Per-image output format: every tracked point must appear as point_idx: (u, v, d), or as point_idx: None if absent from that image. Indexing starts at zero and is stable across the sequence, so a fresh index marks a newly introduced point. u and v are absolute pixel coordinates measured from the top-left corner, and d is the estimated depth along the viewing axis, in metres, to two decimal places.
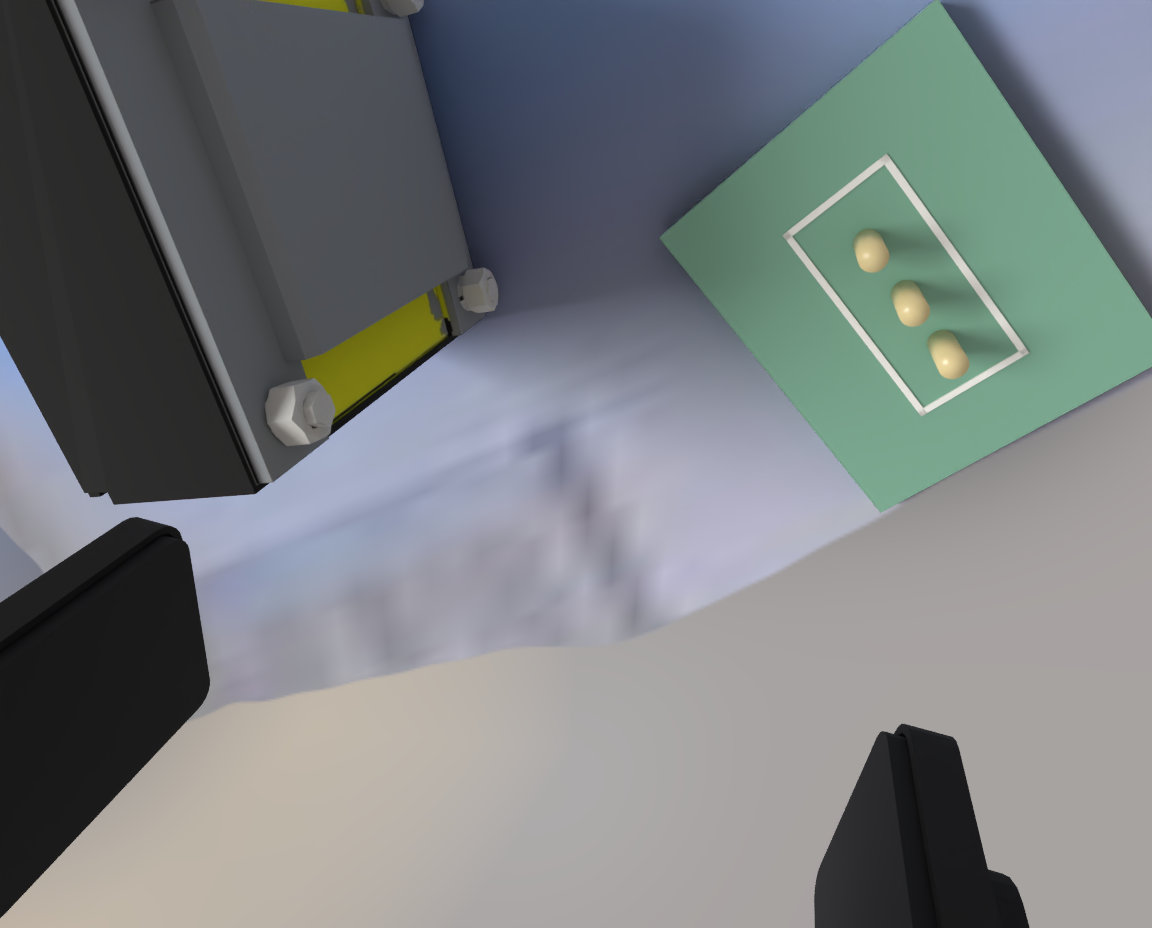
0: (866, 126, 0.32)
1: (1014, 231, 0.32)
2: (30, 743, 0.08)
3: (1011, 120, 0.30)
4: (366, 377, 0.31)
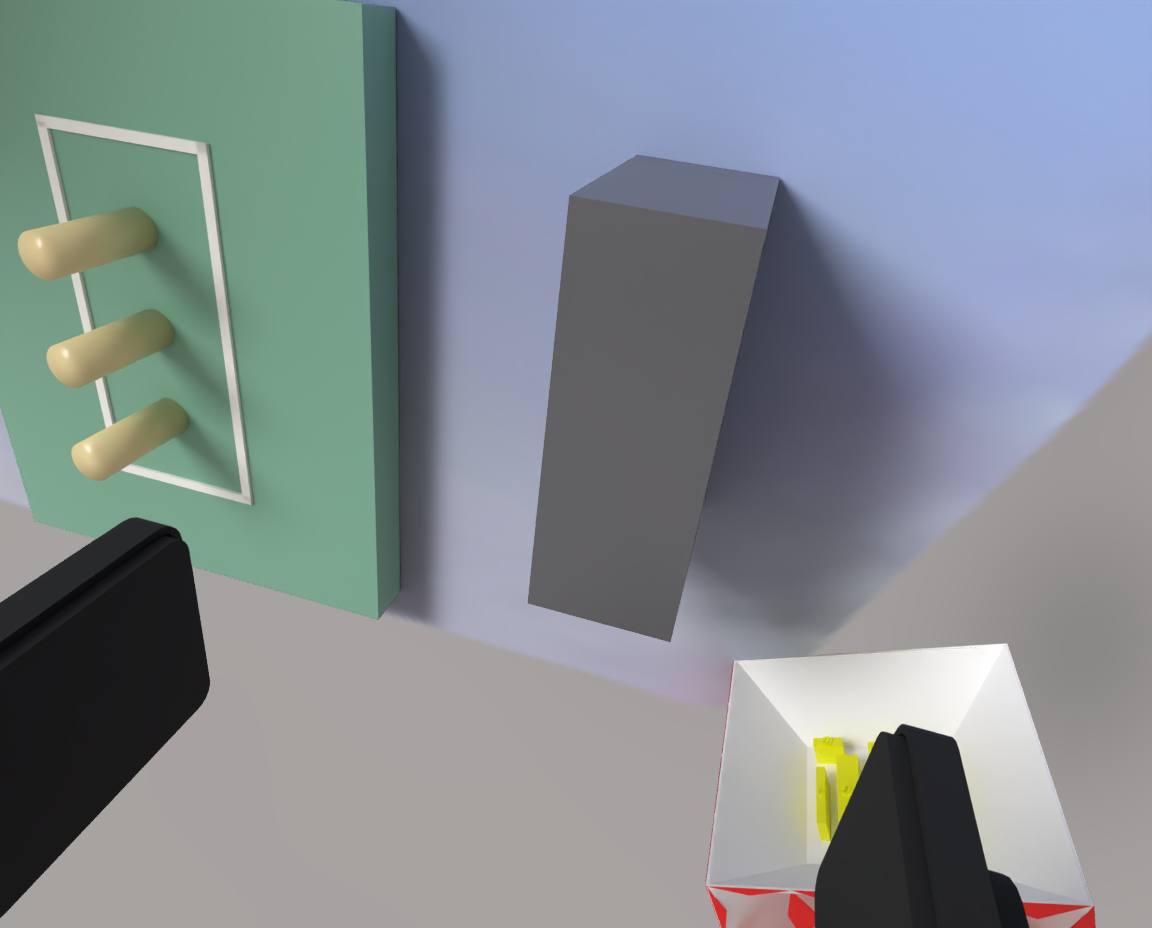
0: (200, 81, 0.19)
1: (301, 375, 0.22)
2: (30, 743, 0.08)
3: (361, 253, 0.20)
4: None
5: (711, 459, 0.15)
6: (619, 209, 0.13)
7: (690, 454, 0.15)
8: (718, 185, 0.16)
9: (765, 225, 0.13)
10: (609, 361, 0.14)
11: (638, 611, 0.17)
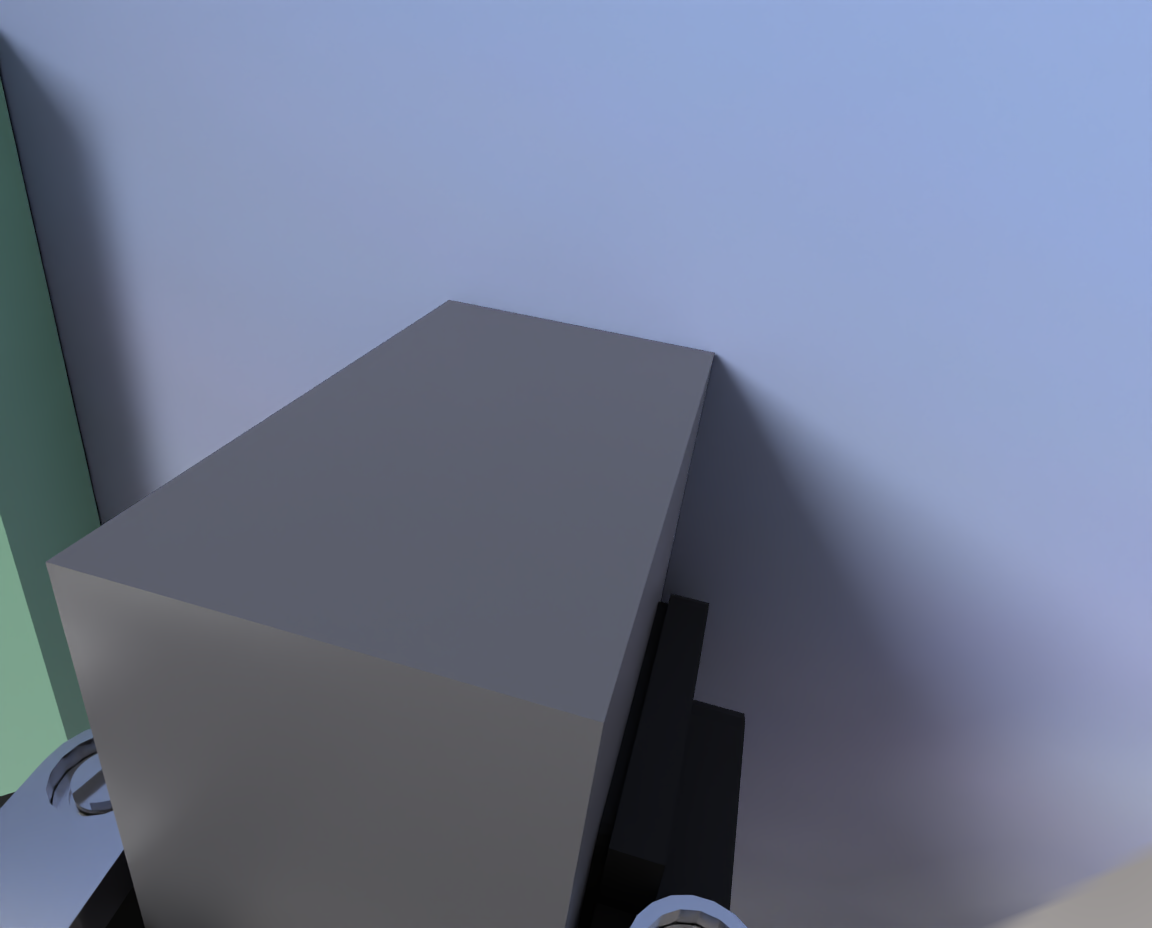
0: None
1: None
2: None
3: None
4: None
5: None
6: (187, 606, 0.04)
7: None
8: (565, 411, 0.07)
9: (608, 682, 0.04)
10: (254, 907, 0.06)
11: None
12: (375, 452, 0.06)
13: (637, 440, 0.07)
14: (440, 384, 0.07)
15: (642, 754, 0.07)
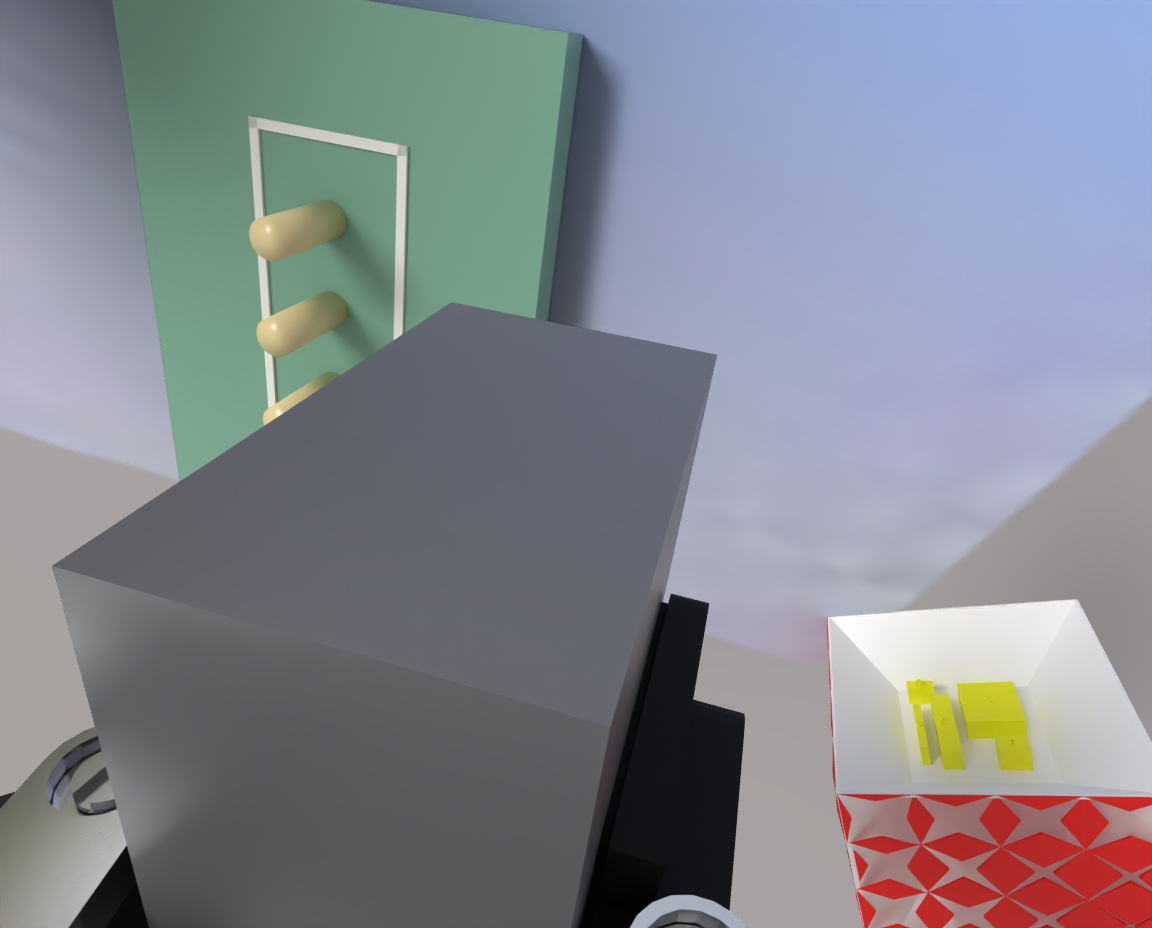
0: (409, 92, 0.21)
1: None
2: None
3: (536, 244, 0.23)
4: None
5: None
6: (194, 610, 0.04)
7: None
8: (568, 414, 0.07)
9: (615, 685, 0.04)
10: (260, 909, 0.06)
11: None
12: (380, 455, 0.06)
13: (641, 443, 0.07)
14: (444, 386, 0.07)
15: (642, 754, 0.07)
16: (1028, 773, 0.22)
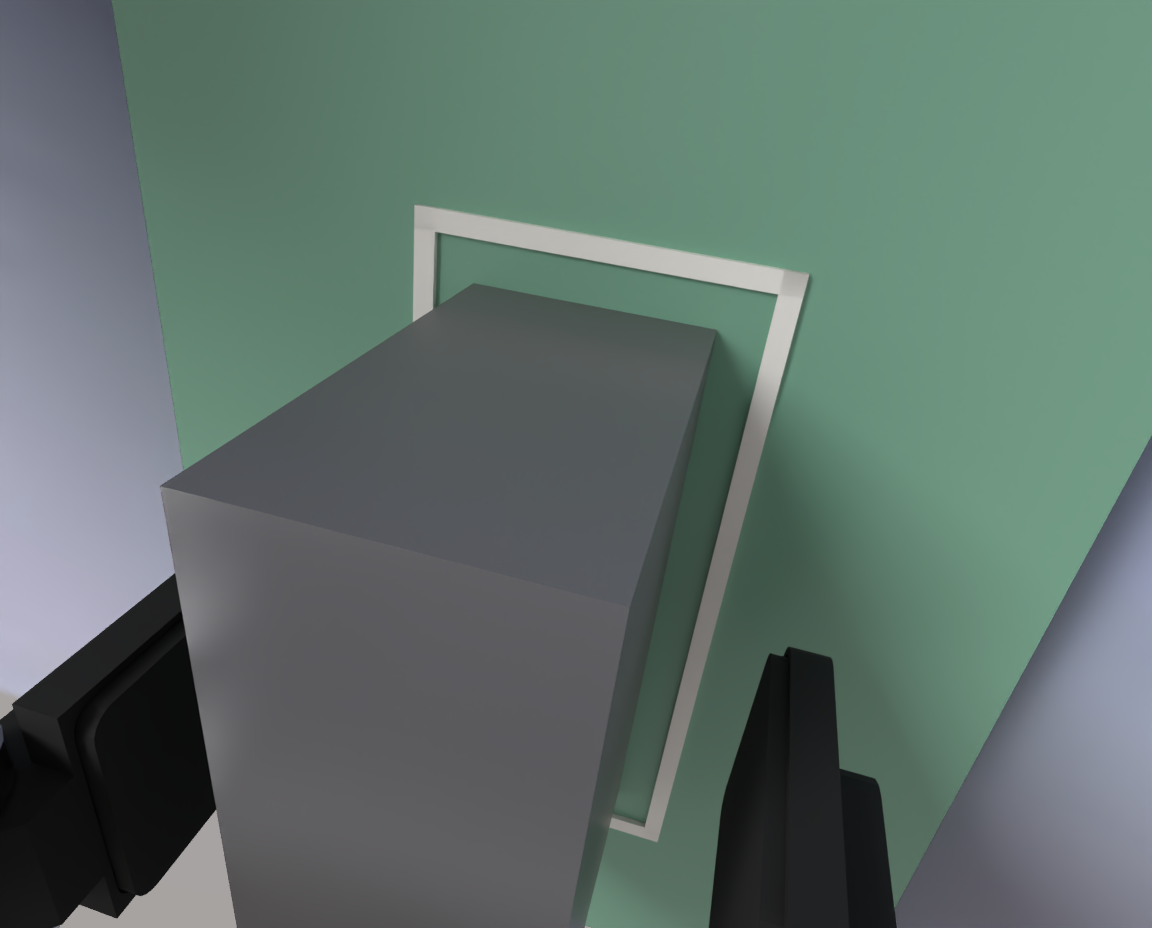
0: (839, 150, 0.09)
1: (849, 676, 0.12)
2: (185, 721, 0.09)
3: (1100, 492, 0.10)
4: None
5: None
6: (279, 522, 0.05)
7: None
8: (584, 376, 0.08)
9: (632, 579, 0.05)
10: (321, 798, 0.07)
11: None
12: (422, 407, 0.07)
13: (649, 400, 0.08)
14: (472, 353, 0.08)
15: (799, 840, 0.07)
16: None
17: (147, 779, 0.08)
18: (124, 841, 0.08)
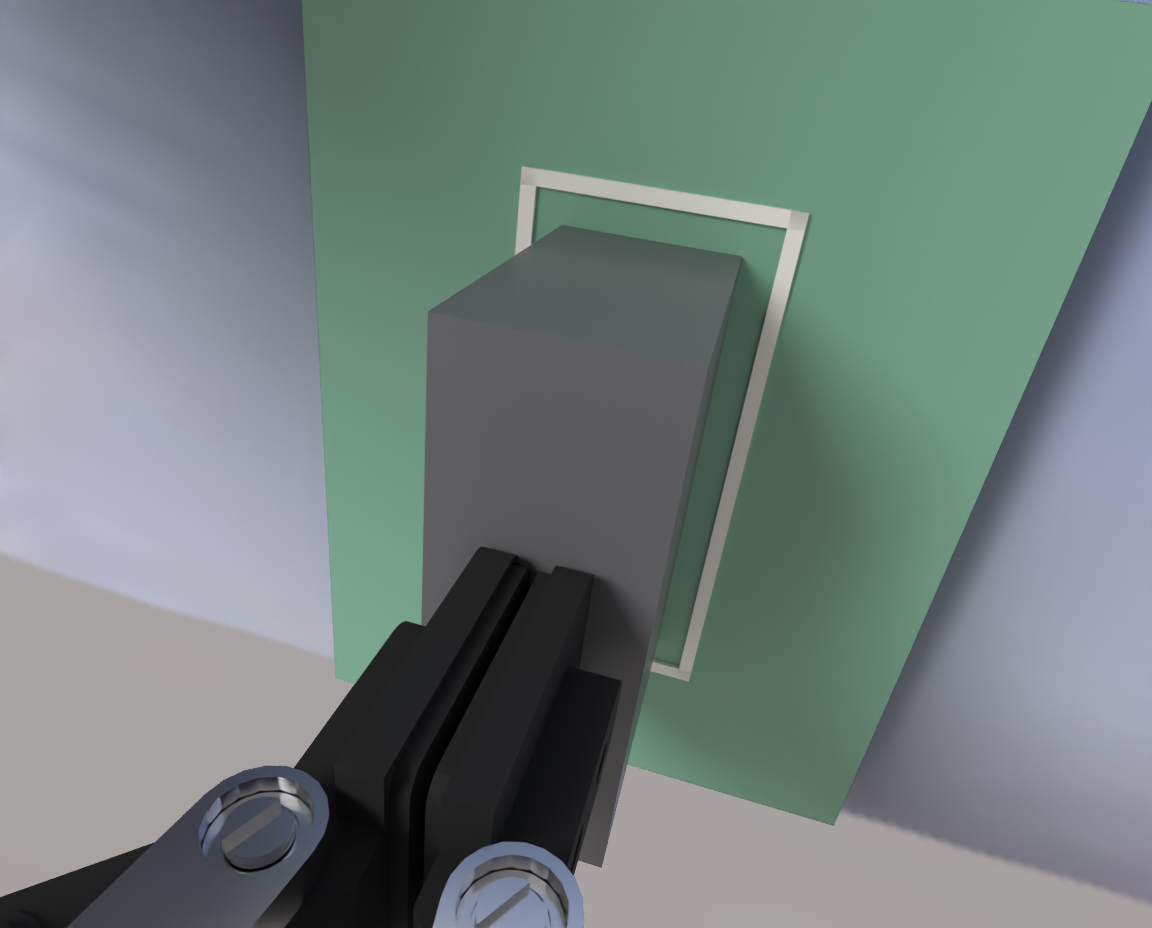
0: (830, 123, 0.12)
1: (839, 528, 0.16)
2: None
3: (1018, 371, 0.13)
4: None
5: (643, 659, 0.11)
6: (498, 332, 0.09)
7: (615, 651, 0.11)
8: (656, 276, 0.12)
9: (707, 358, 0.09)
10: (499, 529, 0.10)
11: None
12: (558, 286, 0.11)
13: (701, 289, 0.11)
14: (578, 262, 0.12)
15: (493, 712, 0.08)
16: None
17: None
18: (408, 894, 0.08)
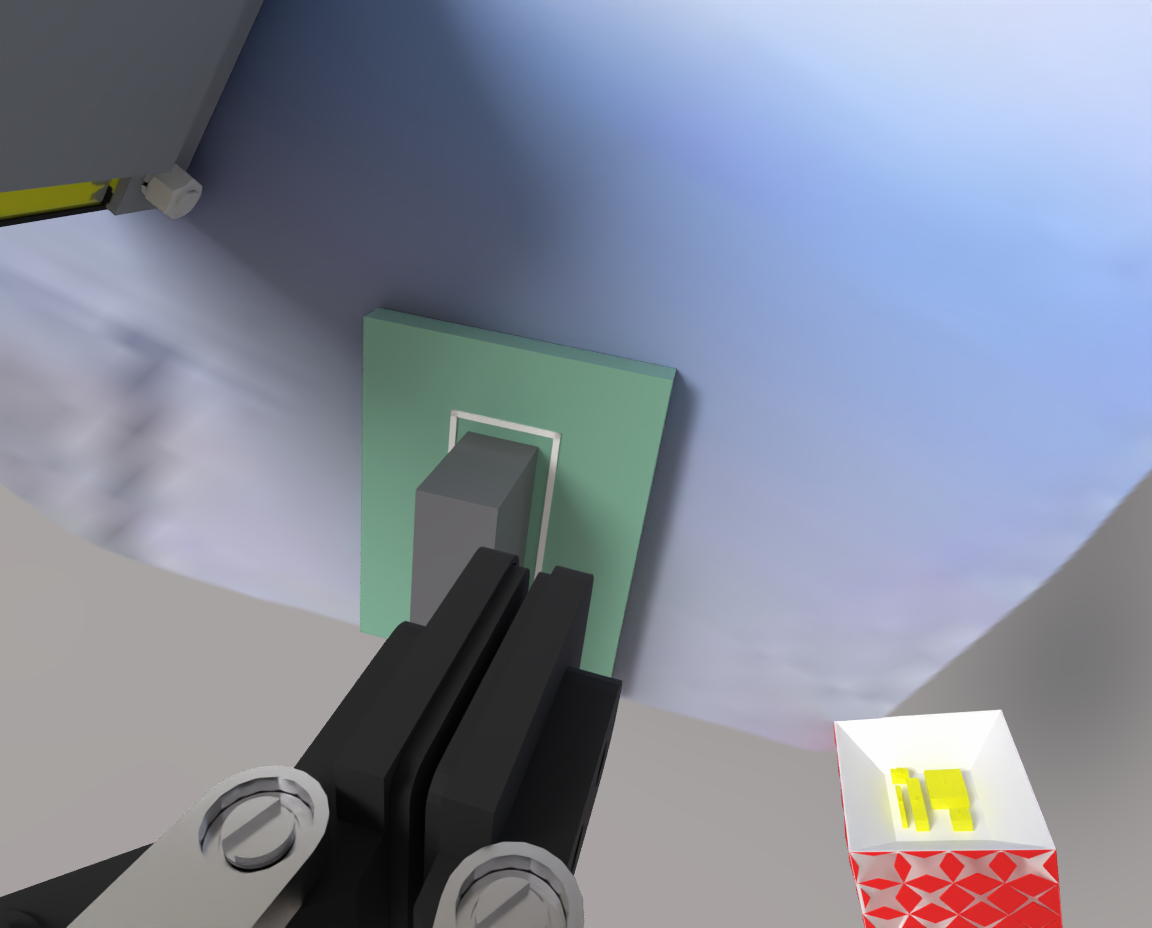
0: (564, 404, 0.33)
1: (588, 554, 0.36)
2: None
3: (644, 493, 0.34)
4: None
5: None
6: (437, 496, 0.30)
7: None
8: (497, 464, 0.33)
9: (499, 505, 0.30)
10: (438, 556, 0.31)
11: None
12: (459, 473, 0.31)
13: (512, 470, 0.32)
14: (469, 457, 0.33)
15: (493, 712, 0.08)
16: (970, 833, 0.34)
17: None
18: (408, 895, 0.08)
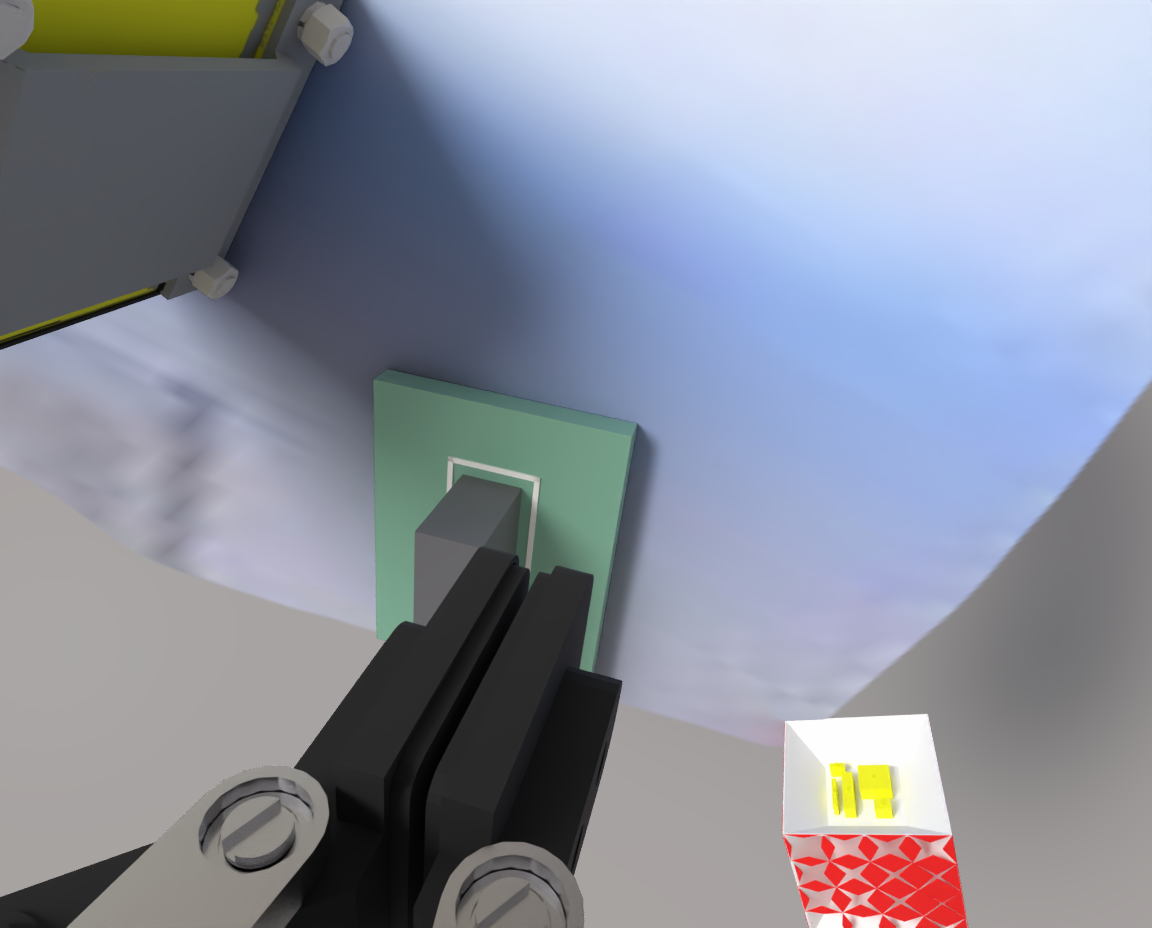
0: (542, 453, 0.39)
1: None
2: None
3: (612, 528, 0.40)
4: None
5: None
6: (432, 536, 0.36)
7: None
8: (485, 505, 0.39)
9: (483, 545, 0.36)
10: (434, 584, 0.37)
11: None
12: (452, 515, 0.38)
13: (497, 511, 0.38)
14: (461, 500, 0.39)
15: (493, 712, 0.08)
16: (890, 820, 0.39)
17: None
18: (408, 895, 0.08)
